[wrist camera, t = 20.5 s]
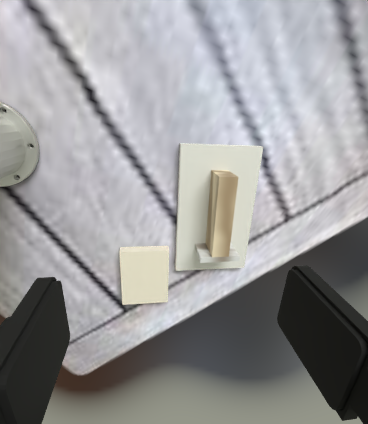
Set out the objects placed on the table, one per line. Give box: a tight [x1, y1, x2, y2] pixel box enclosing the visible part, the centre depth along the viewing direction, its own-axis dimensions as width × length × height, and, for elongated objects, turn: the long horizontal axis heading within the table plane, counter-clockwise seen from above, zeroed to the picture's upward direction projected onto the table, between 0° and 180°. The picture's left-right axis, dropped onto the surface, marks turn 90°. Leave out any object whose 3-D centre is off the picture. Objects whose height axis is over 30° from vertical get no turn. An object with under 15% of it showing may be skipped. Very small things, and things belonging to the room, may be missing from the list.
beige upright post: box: [195, 170, 240, 263], centre depth 42 cm, size 7×15×5 cm, turn 178°
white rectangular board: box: [175, 143, 263, 271], centre depth 45 cm, size 14×24×2 cm, turn 177°
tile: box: [119, 246, 169, 305], centre depth 48 cm, size 9×2×12 cm
